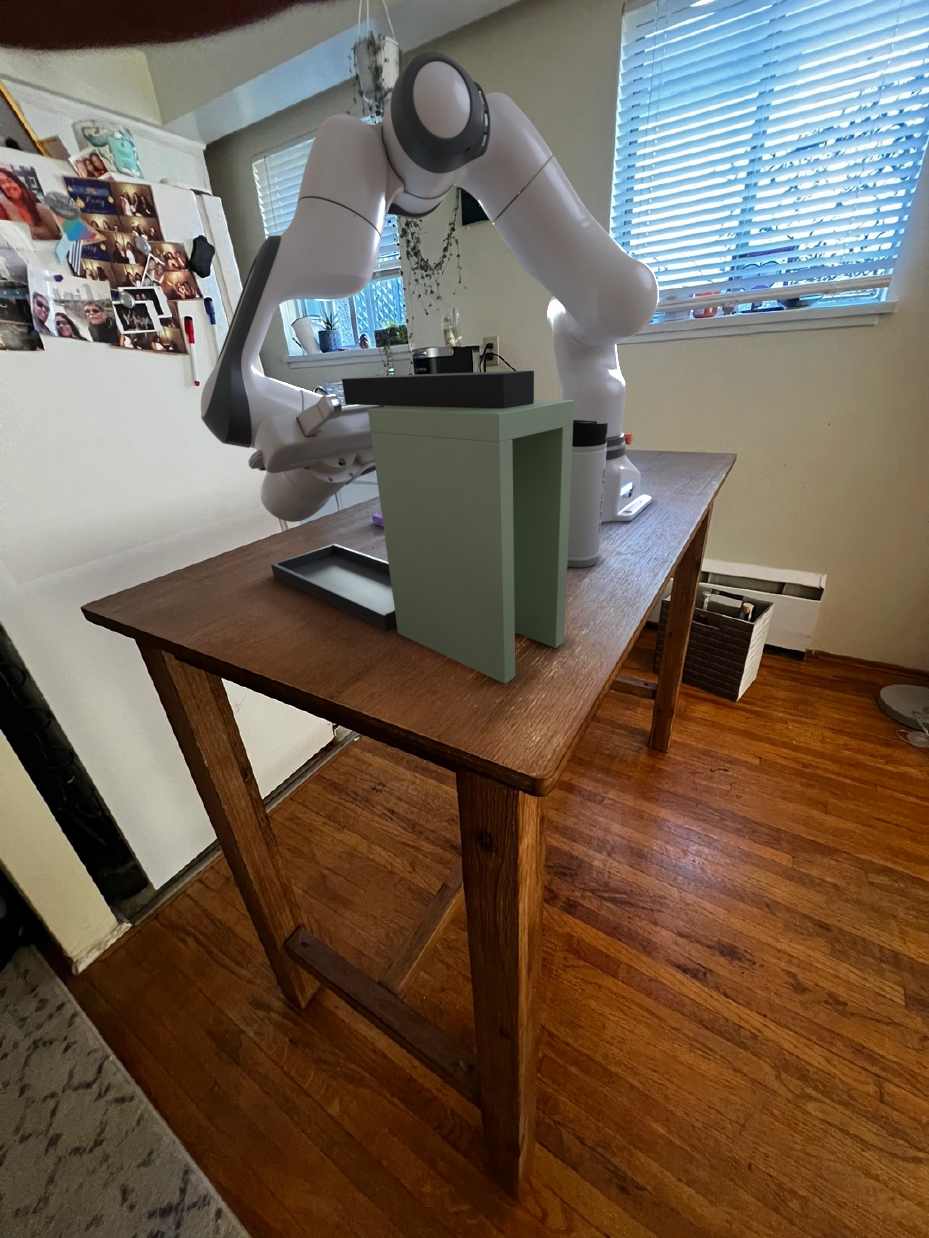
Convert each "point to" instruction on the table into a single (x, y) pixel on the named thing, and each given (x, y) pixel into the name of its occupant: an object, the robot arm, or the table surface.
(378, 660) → the table surface
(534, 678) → the table surface
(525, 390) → the black pad
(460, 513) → the stool
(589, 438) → the travel mug
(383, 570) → the shallow dark gray tray
